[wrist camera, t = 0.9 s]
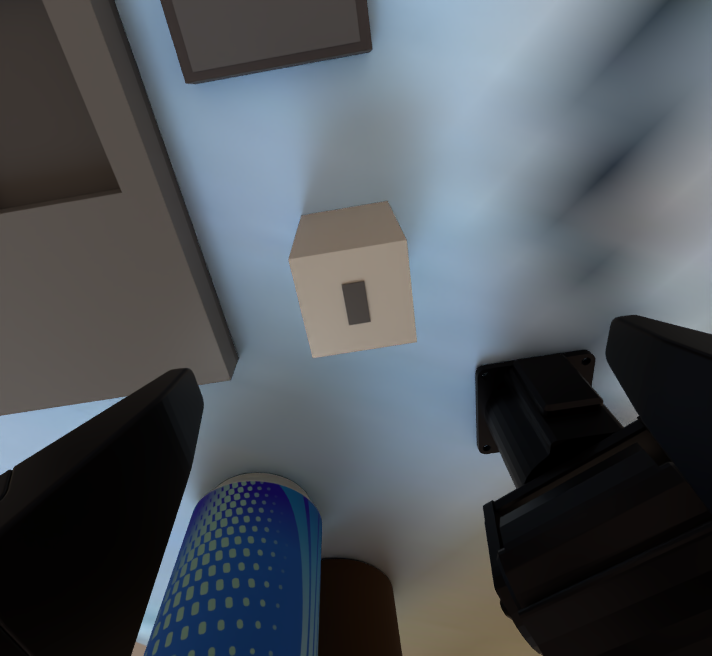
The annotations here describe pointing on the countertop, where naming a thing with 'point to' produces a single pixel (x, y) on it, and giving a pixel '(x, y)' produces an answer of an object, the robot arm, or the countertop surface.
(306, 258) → the block
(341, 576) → the olive oil
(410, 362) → the countertop surface
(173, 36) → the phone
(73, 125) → the outlet plate
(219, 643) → the beer can
